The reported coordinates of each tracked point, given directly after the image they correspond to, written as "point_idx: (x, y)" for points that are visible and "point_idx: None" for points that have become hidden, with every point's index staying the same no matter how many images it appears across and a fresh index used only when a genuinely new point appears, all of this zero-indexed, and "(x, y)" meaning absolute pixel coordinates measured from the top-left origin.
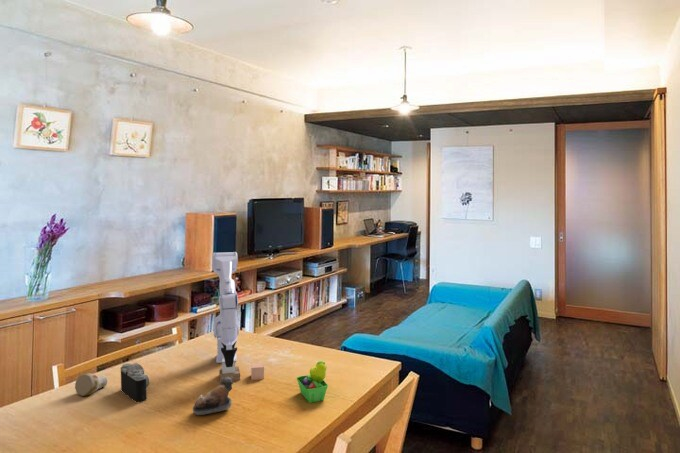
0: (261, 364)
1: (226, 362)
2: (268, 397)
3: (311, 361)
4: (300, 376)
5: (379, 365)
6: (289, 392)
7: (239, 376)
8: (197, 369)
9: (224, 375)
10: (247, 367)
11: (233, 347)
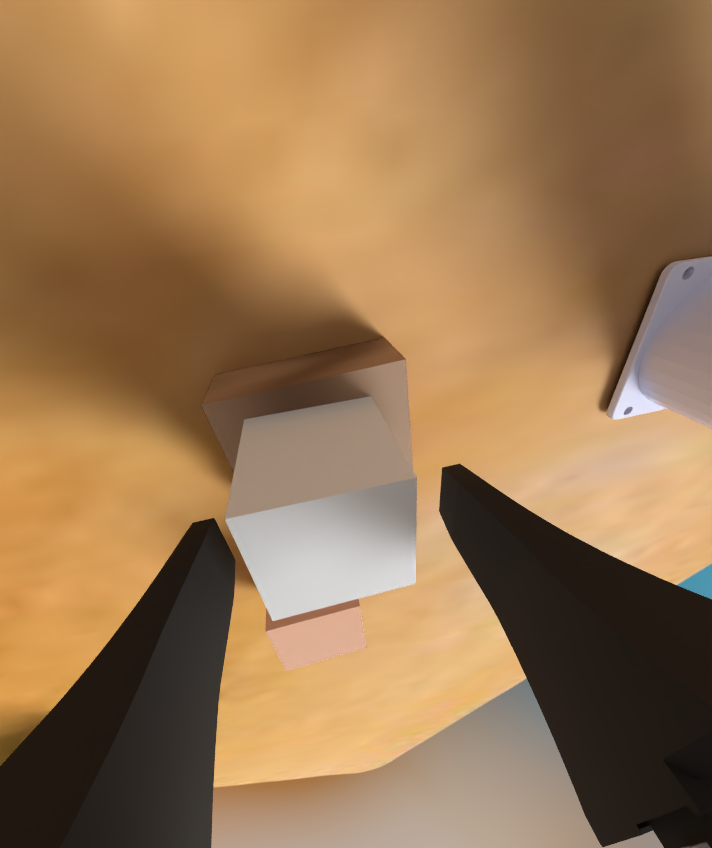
0: (334, 651)
1: (165, 585)
2: (14, 662)
3: (450, 664)
4: None
5: (367, 759)
6: None
7: None
8: (626, 30)
9: (220, 438)
10: None
11: (525, 665)
